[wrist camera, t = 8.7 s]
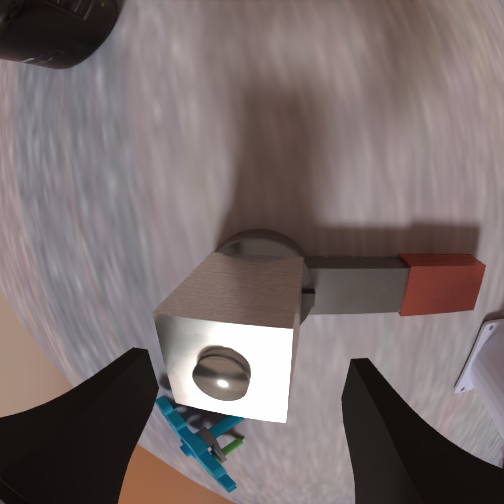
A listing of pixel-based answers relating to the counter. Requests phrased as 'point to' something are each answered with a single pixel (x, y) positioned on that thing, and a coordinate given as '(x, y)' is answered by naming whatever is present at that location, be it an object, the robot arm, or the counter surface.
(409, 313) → the ratchet
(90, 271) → the counter surface
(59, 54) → the supplement bottle
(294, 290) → the socket
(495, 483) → the robot arm
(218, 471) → the gear
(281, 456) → the counter surface
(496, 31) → the counter surface
